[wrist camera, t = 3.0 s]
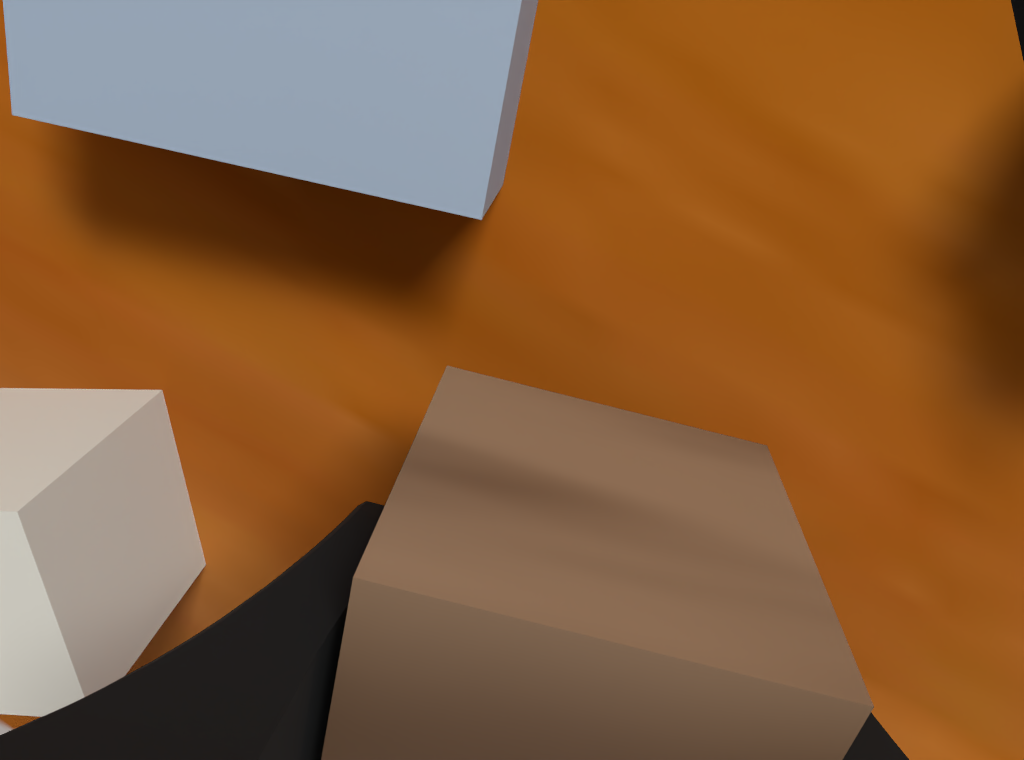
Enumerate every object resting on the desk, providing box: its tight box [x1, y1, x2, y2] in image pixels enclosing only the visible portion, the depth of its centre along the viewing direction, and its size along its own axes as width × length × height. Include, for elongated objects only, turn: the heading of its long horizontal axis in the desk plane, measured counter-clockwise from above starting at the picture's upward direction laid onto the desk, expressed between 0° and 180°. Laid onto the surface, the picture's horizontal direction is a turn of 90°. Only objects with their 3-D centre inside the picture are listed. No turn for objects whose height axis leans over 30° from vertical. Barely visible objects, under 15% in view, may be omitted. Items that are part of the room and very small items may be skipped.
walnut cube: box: [321, 366, 874, 760], centre depth 11 cm, size 5×5×5 cm
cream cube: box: [0, 388, 206, 717], centre depth 15 cm, size 4×4×4 cm
